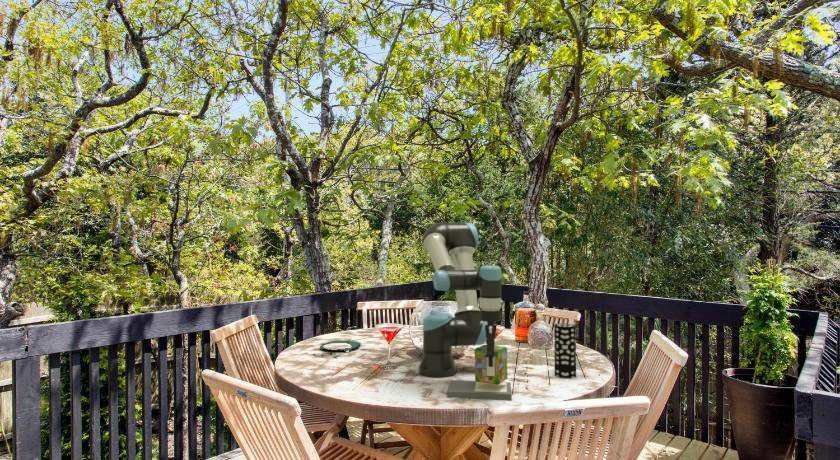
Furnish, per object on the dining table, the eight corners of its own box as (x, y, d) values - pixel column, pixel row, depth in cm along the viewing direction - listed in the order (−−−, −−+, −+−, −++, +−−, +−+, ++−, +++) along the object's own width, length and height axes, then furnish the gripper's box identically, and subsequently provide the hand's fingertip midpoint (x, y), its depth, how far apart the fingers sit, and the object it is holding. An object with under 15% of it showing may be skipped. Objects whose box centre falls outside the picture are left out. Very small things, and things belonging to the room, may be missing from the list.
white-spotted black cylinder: (564, 379, 198) (564, 327, 198) (550, 374, 205) (549, 324, 206) (580, 376, 202) (580, 326, 202) (565, 371, 209) (565, 322, 209)
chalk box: (498, 385, 175) (498, 342, 175) (474, 381, 180) (473, 339, 180) (508, 378, 183) (508, 337, 183) (484, 375, 188) (484, 335, 188)
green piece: (366, 345, 260) (366, 340, 260) (341, 360, 231) (341, 355, 231) (331, 343, 266) (331, 339, 266) (302, 358, 237) (302, 353, 237)
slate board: (447, 397, 177) (446, 390, 177) (450, 385, 191) (450, 379, 191) (511, 400, 173) (511, 393, 173) (510, 387, 187) (510, 381, 187)
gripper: (501, 314, 169) (501, 380, 169) (501, 305, 193) (501, 363, 192) (478, 314, 171) (479, 380, 170) (481, 304, 194) (481, 362, 194)
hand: (490, 371), depth 181 cm, fingers closed on chalk box, 11 cm apart
